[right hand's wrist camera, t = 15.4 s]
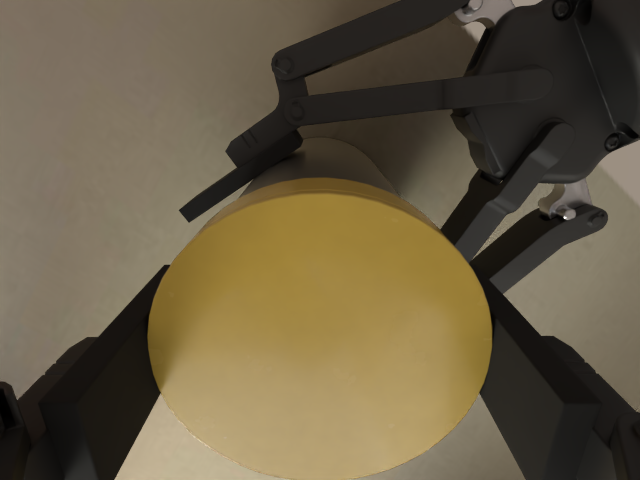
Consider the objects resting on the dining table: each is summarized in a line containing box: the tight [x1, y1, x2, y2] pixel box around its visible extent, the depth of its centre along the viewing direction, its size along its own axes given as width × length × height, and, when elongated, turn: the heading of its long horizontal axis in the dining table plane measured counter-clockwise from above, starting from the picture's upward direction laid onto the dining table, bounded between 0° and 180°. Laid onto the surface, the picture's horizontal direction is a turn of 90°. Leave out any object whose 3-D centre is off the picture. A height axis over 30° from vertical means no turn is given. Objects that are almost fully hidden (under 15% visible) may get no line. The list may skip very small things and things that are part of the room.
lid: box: [147, 178, 492, 480], centre depth 12 cm, size 10×10×2 cm
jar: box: [238, 137, 402, 199], centre depth 18 cm, size 9×9×16 cm
